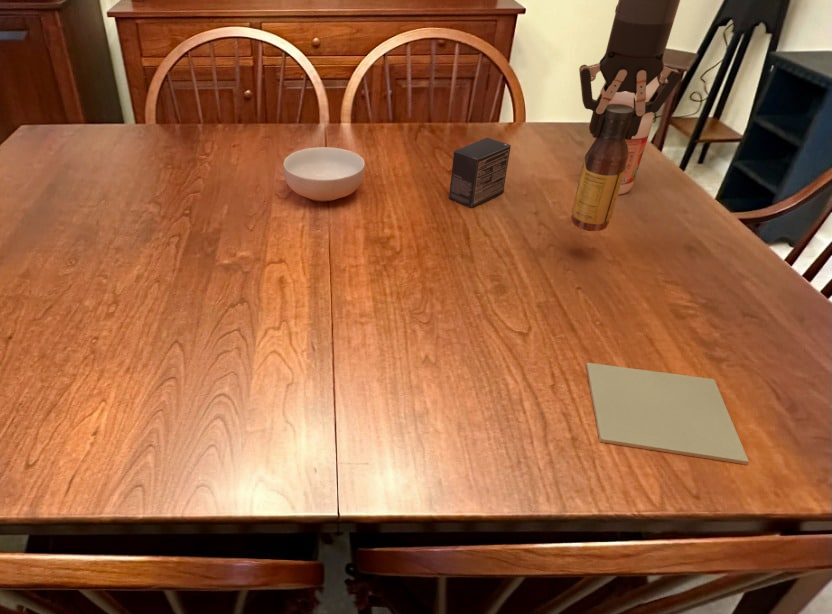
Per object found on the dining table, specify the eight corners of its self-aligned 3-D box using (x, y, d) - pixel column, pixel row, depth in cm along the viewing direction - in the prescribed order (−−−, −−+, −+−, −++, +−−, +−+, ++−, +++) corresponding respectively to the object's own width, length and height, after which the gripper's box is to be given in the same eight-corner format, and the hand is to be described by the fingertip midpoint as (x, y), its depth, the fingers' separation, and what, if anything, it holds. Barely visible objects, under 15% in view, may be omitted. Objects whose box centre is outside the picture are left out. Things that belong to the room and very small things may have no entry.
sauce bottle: (590, 212, 106) (623, 97, 94) (616, 229, 101) (655, 110, 89) (559, 219, 104) (589, 103, 92) (584, 236, 99) (619, 116, 87)
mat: (712, 382, 80) (714, 378, 80) (747, 464, 69) (749, 461, 69) (585, 365, 83) (586, 362, 83) (599, 442, 72) (600, 438, 72)
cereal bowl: (359, 214, 119) (360, 181, 115) (277, 209, 121) (275, 176, 117) (367, 178, 132) (368, 147, 128) (293, 174, 135) (292, 143, 130)
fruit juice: (574, 179, 131) (610, 40, 114) (613, 174, 132) (654, 37, 115) (600, 198, 123) (642, 53, 106) (641, 192, 125) (688, 49, 108)
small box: (479, 183, 130) (486, 135, 123) (504, 193, 126) (513, 144, 119) (446, 198, 124) (452, 149, 118) (471, 209, 120) (479, 159, 114)
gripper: (593, 20, 81) (564, 143, 92) (709, 22, 79) (666, 149, 89) (586, 9, 87) (560, 125, 98) (694, 11, 85) (655, 131, 95)
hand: (611, 136), depth 93 cm, fingers closed on sauce bottle, 4 cm apart
